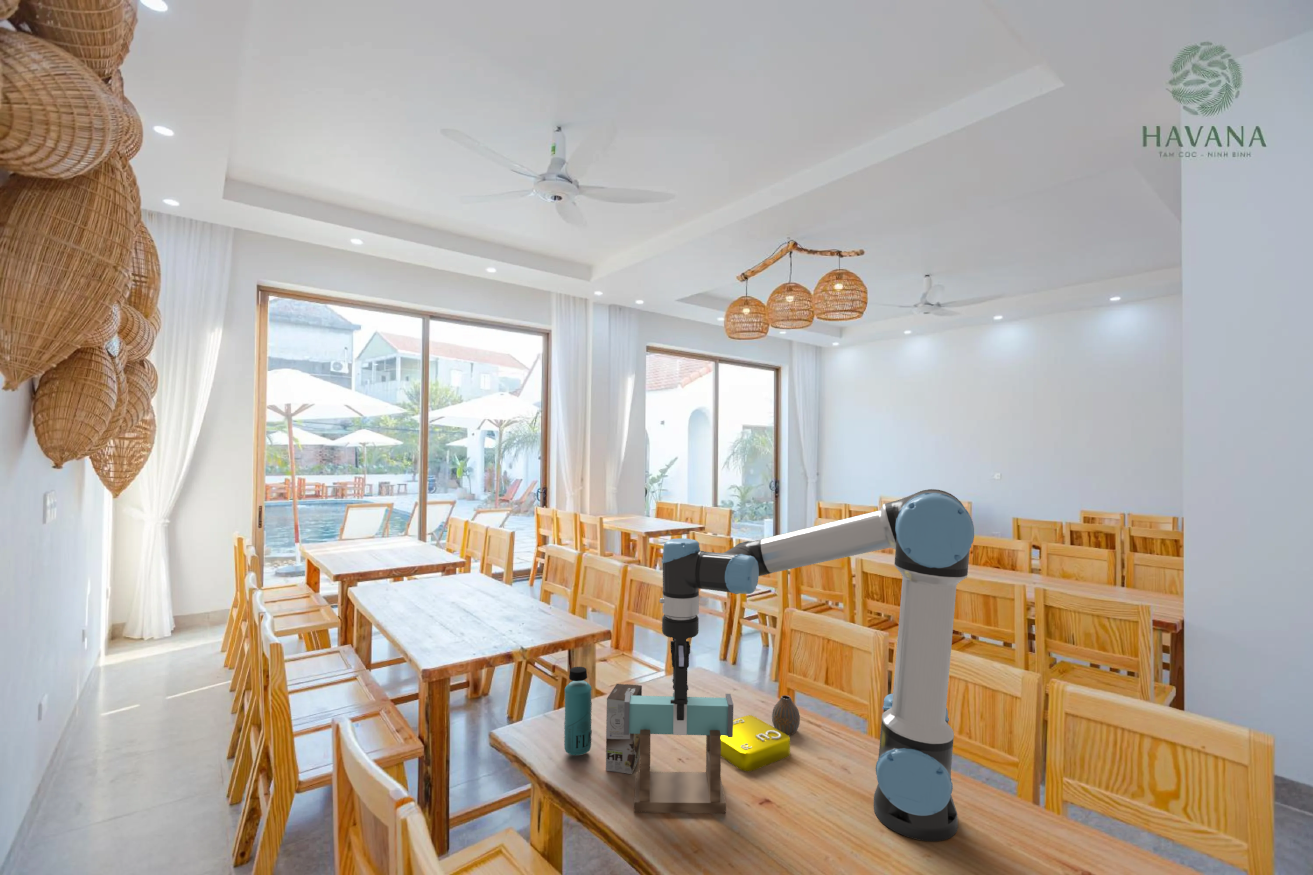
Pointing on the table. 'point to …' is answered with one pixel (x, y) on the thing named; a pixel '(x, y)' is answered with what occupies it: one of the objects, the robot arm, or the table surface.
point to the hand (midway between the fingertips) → (679, 727)
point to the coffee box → (620, 732)
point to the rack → (680, 783)
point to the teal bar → (659, 715)
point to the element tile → (754, 744)
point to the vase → (786, 716)
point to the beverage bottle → (578, 713)
